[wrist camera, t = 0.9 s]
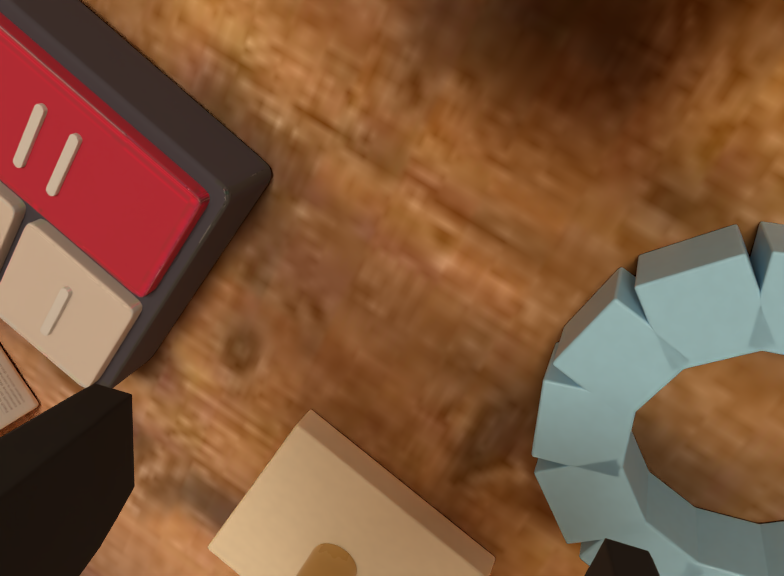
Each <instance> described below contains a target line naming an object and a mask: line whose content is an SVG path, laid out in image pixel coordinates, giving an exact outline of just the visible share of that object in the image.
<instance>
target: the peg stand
mask: <svg viewBox="0 0 784 576" xmlns="http://www.w3.org/2000/svg"><path fill="white" fill-rule="evenodd" d="M208 549H209V550H210V551H211V552H212V553H214V554H215V555H216V556H217V557H218V558H220V559H221V560H222V561H223V562H224V563H226V564H227V565H228V566H229V567H230V568H232V569H233V570H234V571H235V572H236V573H238V574H239V575H240V576H490V574H491V571H492V567H493V564H494V561H495V557H494V556H493V555H492V554H490V553H489V552H488V551H487V550H485V549H484V548H483V547H482V546H480V545H479V544H478V543H477V542H475V541H474V540H473V539H472V538H471V537H469V536H468V535H467V534H466V533H464V532H463V531H462V530H461V529H459V528H458V527H457V526H456V525H454V524H453V523H452V522H451V521H449V520H448V519H447V518H446V517H444V516H443V515H442V514H441V513H439V512H438V511H437V510H436V509H434V508H433V507H432V506H431V505H429V504H428V503H427V502H426V501H425V500H423V499H422V498H421V497H420V496H418V495H417V494H416V493H415V492H413V491H412V490H411V489H410V488H408V487H407V486H406V485H405V484H403V483H402V482H401V481H400V480H398V479H397V478H396V477H395V476H393V475H392V474H391V473H390V472H388V471H387V470H386V469H385V468H384V467H382V466H381V465H380V464H379V463H377V462H376V461H375V460H374V459H372V458H371V457H370V456H369V455H367V454H366V453H365V452H364V451H362V450H361V449H360V448H359V447H357V446H356V445H355V444H354V443H352V442H351V441H350V440H349V439H347V438H346V437H345V436H344V435H343V434H341V433H340V432H339V431H338V430H336V429H335V428H334V427H333V426H331V425H330V424H329V423H328V422H326V421H325V420H324V419H323V418H321V417H320V416H319V415H318V414H316V413H315V412H314V411H313V410H309V411H308V412H307V413H306V414H305V415H304V416H303V418H302V419H301V420H300V421H299V422H298V423H297V424H296V426H295V427H294V428H293V430H292V431H291V432H290V434H289V435H288V437H287V438H286V439H285V441H284V442H283V443H282V445H281V446H280V448H279V449H278V450H277V452H276V453H275V454H274V456H273V457H272V459H271V460H270V461H269V463H268V464H267V465H266V467H265V468H264V470H263V471H262V472H261V474H260V475H259V476H258V478H257V479H256V481H255V482H254V483H253V485H252V486H251V487H250V489H249V490H248V492H247V493H246V494H245V496H244V497H243V498H242V500H241V501H240V503H239V504H238V505H237V507H236V508H235V509H234V511H233V512H232V514H231V515H230V516H229V518H228V519H227V520H226V522H225V523H224V525H223V526H222V527H221V529H220V530H219V531H218V533H217V534H216V536H215V537H214V538H213V540H212V541H211V542H210V544H209V545H208Z"/></svg>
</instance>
